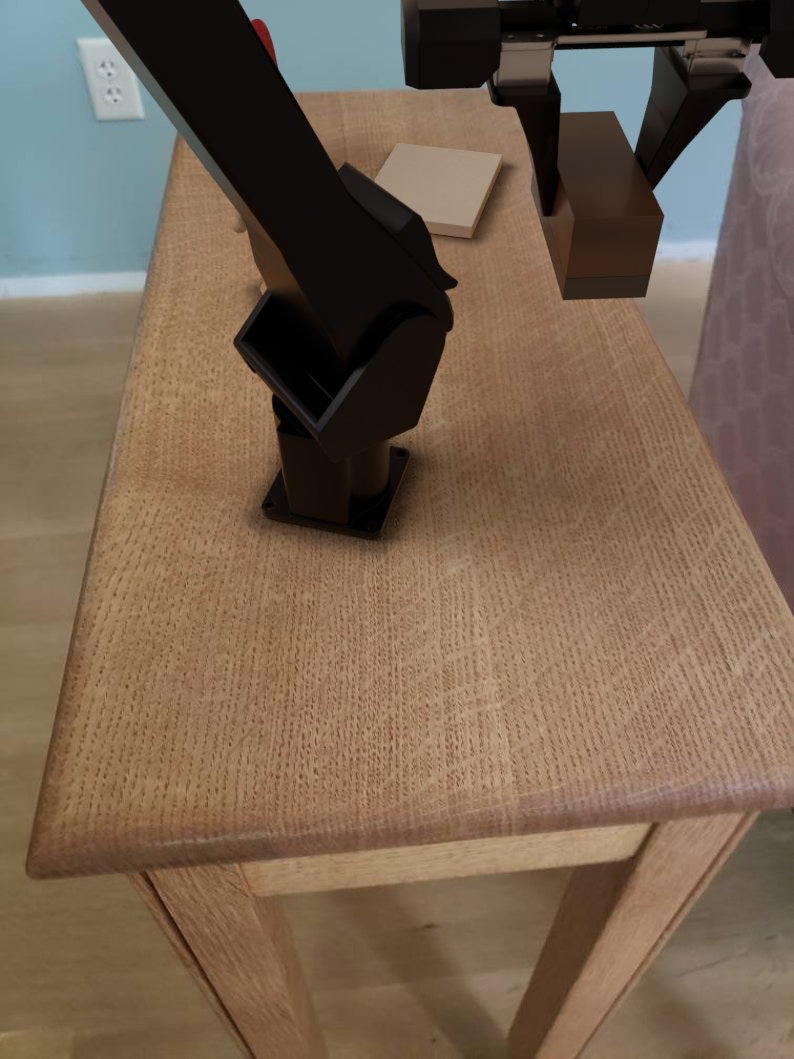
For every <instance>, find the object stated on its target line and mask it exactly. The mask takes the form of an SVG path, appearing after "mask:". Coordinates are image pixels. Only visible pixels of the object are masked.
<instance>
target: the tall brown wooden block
mask: <svg viewBox="0 0 794 1059" xmlns="http://www.w3.org/2000/svg"><path fill="white" fill-rule="evenodd" d="M634 152H635V151H634V150H633V148H632V146H631V144H630V142H629V140H628V137H627V136H626V133H625V131H624V129H623V128H622V125H621V123H620V121H619V119H618V116H617V115H616V112H615V111H614V110H606V111H605V110H600V111H598V110H597V111H571V112H570V111H569V112H568V111H567V112H565V111H564V112H560V129H559V146H558V164H557V181H556V193H555V198H554V202H553V207H552V211H551V215H550V217H543V215H542V212H541V209H540V204H539V199H538V195H537V190H536V185H535V180H534V175H533V171H532V170H531V172H532V173H531V180H530V192H531V196H532V199H533V202H534V206H535V209H536V213H537V215H538V219H539V224H540V227H541V230H542V233H543V237H544V240H545V244H546V247H547V252H548V254H549V258H550V261H551V265H552V267H553V271H554V275H555V278H556V282H557V286H558V289H559V292H560V295H561V299H562V301H584V300H585V301H586V300H607V299H608V300H610V299H611V300H612V299H614V300H615V299H639V298H641V299H642V298H646V297H647V293H648V289H649V284H650V280H651V275H652V272H653V267H654V263H655V258H656V254H657V249H658V245H659V241H660V237H661V233H662V230H663V229H662V228H663V224H664V219H665V214H664V212H663V210H662V207H661V205H660V204H659V202H658V199H657V198H656V195H655V193H654V190H653V191H652V189H651V187H650V185H649V183H648V181H647V179H646V177H645V174H644V172H643V170H642V168H641V166H640V164H639V162H638V160H637V158H636V156H635V154H634Z"/></svg>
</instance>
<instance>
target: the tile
mask: <svg viewBox="0 0 794 1059" xmlns="http://www.w3.org/2000/svg"><path fill="white" fill-rule="evenodd" d="M503 158H504V157H503V154H500V153H491V152H485V151H484V152H482V151H473V150H466V149H458V148H457V149H456V148H447V147H438V146H429V145H422V144H421V145H420V144H411V143H405V142H404V143H403V142H397V143H396V144H395V145H394V147H393V149H392V150H391V152H390V154H389V155H388V157H387V158H386V160H385V162H384V163H383V165H382V166H381V168H380V170H379V171H378V173H377V175H376V177H375V178H374V180H373V181H374V182H375V183H377V184H378V185H379V186H381V187H382V188H384V189H385V190H386V191H388V192H389V193H390V194H392V195H393V196H394V197H396V198H397V199H399V200H400V201H401V202H403V203H404V204H405V205H407V206H408V207H410V208H411V209H412V210H414V211H415V212H416V213H418V214H419V215H420V216H421V217H422V219H423V221H424V223H425V225H426V227H427V229H428V230H429V233H430V234H433V235H440V236H441V235H442V236H449V237H457V238H463V239H472V237H473V235H474V233H475V230H476V228H477V226H478V223H479V221H480V219H481V217H482V214H483V212H484V209H485V206H486V204H487V202H488V200H489V198H490V195H491V192H492V191H493V187H494V185H495V183H496V181H497V178H498V176H499V173H500V171H501V168H502V166H503Z"/></svg>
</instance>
